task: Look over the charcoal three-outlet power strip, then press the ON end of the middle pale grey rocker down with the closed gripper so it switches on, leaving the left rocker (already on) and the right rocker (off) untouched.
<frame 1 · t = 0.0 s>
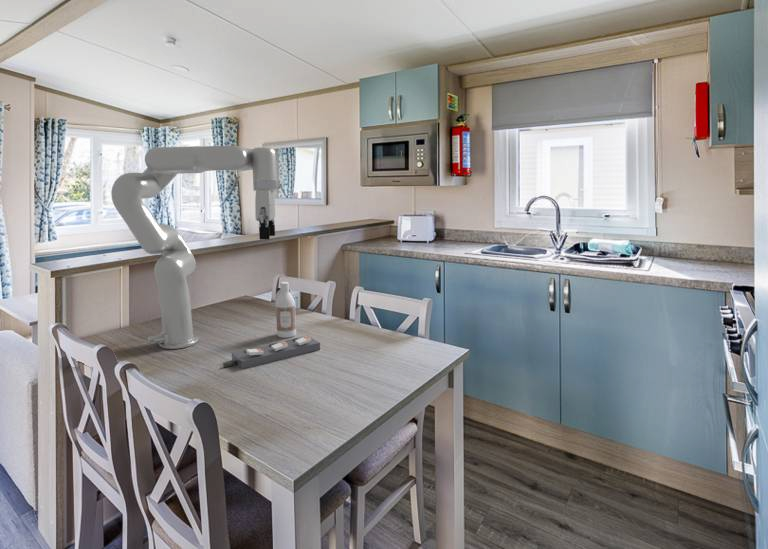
hand: (267, 237, 155), 37 cm above the table, tool pointing down, fingers open, 9 cm apart
bath foam: (286, 335, 169), on the table
rocker left: (254, 351, 142), point 4 cm above the table, hinge at 9.0°
rocker middle: (279, 345, 147), point 4 cm above the table, hinge at -9.0°
rocker right: (303, 340, 152), point 4 cm above the table, hinge at -9.0°
power strip: (277, 354, 150), on the table
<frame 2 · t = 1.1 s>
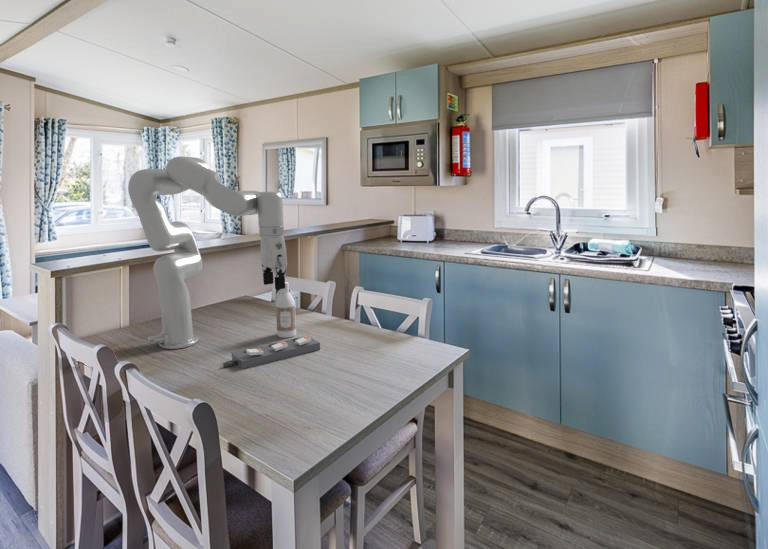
hand: (274, 286, 145), 23 cm above the table, tool pointing down, fingers open, 8 cm apart
nothing on the table moved.
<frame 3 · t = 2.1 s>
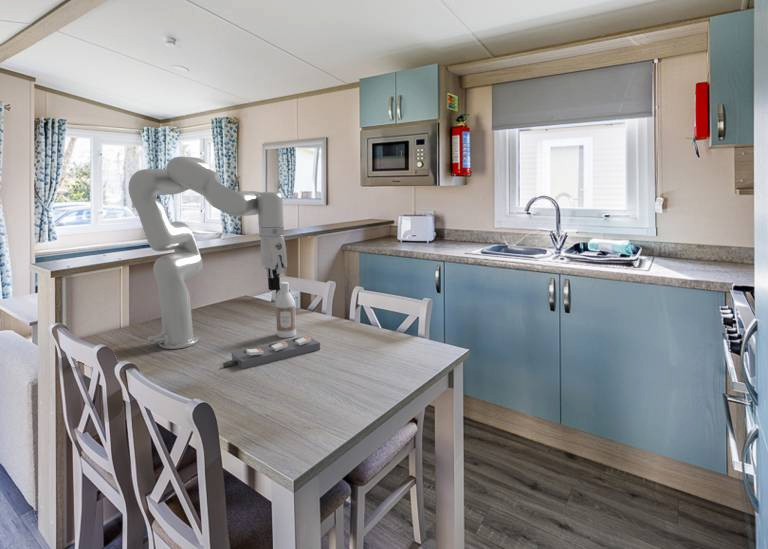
hand: (274, 289, 145), 22 cm above the table, tool pointing down, fingers closed
nothing on the table moved.
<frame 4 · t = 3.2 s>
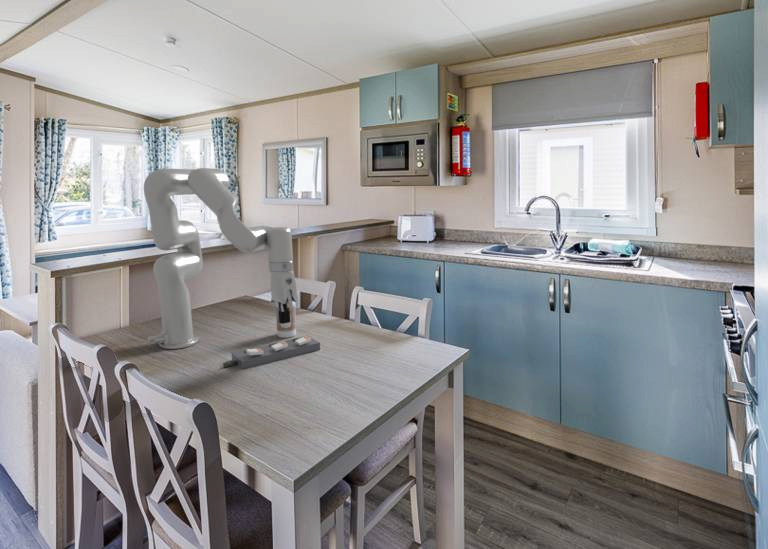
hand: (284, 322, 147), 11 cm above the table, tool pointing down, fingers closed
nothing on the table moved.
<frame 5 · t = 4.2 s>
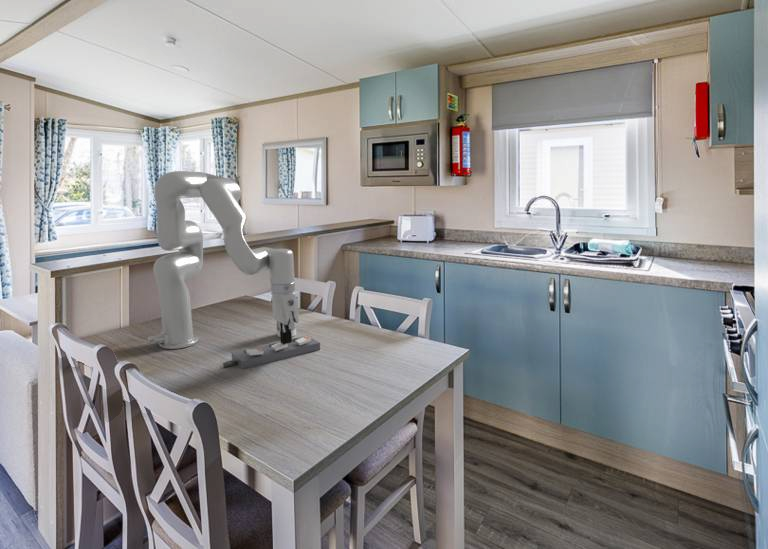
hand: (286, 342, 148), 4 cm above the table, tool pointing down, fingers closed
rocker middle: (279, 345, 147), point 4 cm above the table, hinge at -8.2°, touching gripper
everything else where it was.
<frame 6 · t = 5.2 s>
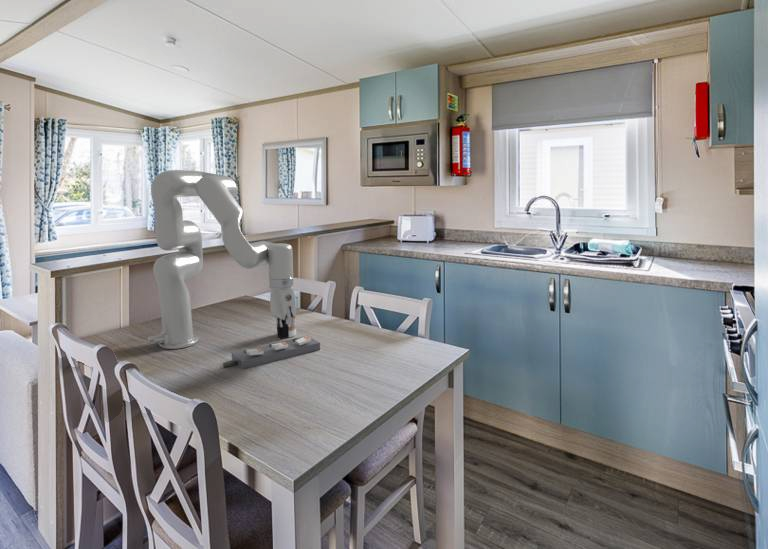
hand: (283, 337, 148), 6 cm above the table, tool pointing down, fingers closed
rocker middle: (279, 345, 147), point 4 cm above the table, hinge at 1.1°
everything else where it was.
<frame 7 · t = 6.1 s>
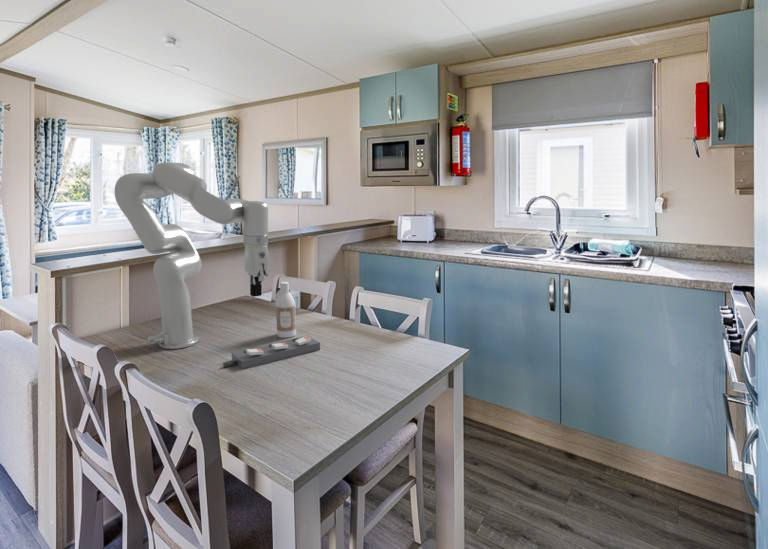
hand: (255, 295, 150), 19 cm above the table, tool pointing down, fingers closed
rocker middle: (279, 345, 147), point 4 cm above the table, hinge at 6.6°
everything else where it was.
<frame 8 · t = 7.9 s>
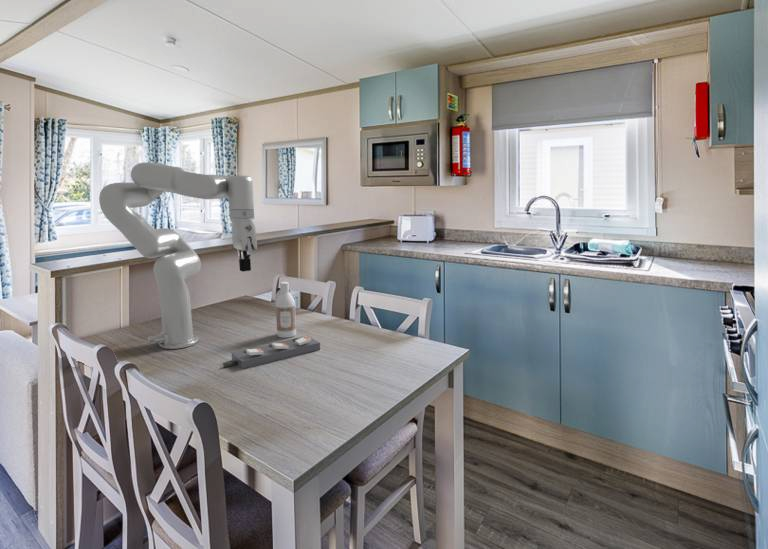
hand: (245, 270, 150), 27 cm above the table, tool pointing down, fingers closed
rocker middle: (280, 345, 148), point 4 cm above the table, hinge at 14.6°
everything else where it was.
at the end: rocker middle at +15° (first picture: -9°); rocker left at +9° (first picture: +9°); rocker right at -9° (first picture: -9°) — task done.
